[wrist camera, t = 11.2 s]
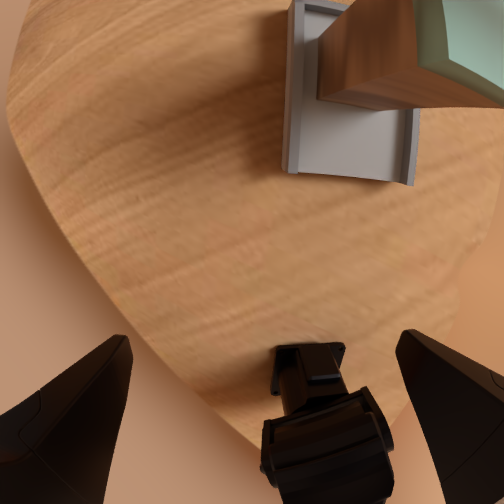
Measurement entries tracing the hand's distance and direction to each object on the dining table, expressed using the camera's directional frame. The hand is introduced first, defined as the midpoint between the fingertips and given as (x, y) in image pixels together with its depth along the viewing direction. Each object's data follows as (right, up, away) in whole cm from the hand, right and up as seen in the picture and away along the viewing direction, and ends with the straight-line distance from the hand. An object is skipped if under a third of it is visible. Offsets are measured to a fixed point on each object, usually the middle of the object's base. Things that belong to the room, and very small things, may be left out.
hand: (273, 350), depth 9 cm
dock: (+6, +14, +9) cm, 18 cm away
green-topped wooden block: (+6, +14, +7) cm, 17 cm away
